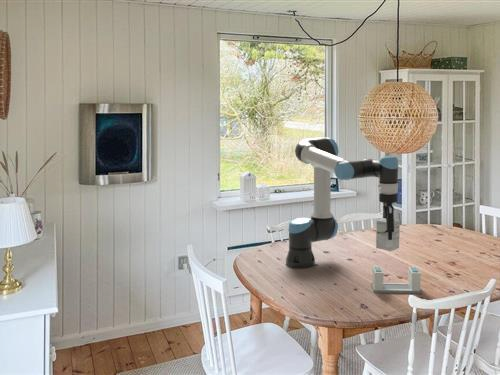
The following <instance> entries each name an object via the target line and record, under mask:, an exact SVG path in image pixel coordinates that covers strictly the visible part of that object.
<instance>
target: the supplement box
mask: <svg viewBox="0 0 500 375" xmlns="http://www.w3.org/2000/svg"><path fill="white" fill-rule="evenodd" d="M400 225H401V220H400V219H396V218H394V232H393V247H386V232H385V230H387V223H386V218H383V217H382V218H380V219H378V220H376V231H375V232H376V236H375V238H376V239H375V240H376V241H375V243H376V244H375V248H376V249H378V250H384V251H386V252H387V251H388V252H393V251H395V250H397V249H400V232H401V231H400V227H401V226H400Z"/></svg>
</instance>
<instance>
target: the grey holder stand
mask: <svg viewBox="0 0 500 375" xmlns="http://www.w3.org/2000/svg"><path fill="white" fill-rule="evenodd" d="M407 268H408V270H407V271H408V272H407V282H384V271H383V269H382V267H381V266H373V265H372V282H371V283H370V286H371V289H372V293H373V294H410V293H412V294H411V295H416V294H417V295H419V294H420V295H422V293H423V292H422V290H421V281H422V280H421V276H422V275H421V271H420V270H419V269H418V267H417V266H408V267H407Z"/></svg>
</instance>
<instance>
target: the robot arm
mask: <svg viewBox="0 0 500 375" xmlns="http://www.w3.org/2000/svg"><path fill="white" fill-rule="evenodd" d="M294 149H295V150H294V151H295V152H294V154H295V157H296V158H297V159H298V161H300V162H302V163H304V164H306V165H309V164H310V165H311V166H312V167H313V212H312V214H311V215H310V217H298V218H295V219H292V220H290V222H288V251H287V255H286V259H285V264H286V266H288V265H289V266H288V267H290V266H292V267H291V268H294V267H296V269H306V267H307V268H311V267H314V266H315V265H316V259H315V255H314V252H313V249H312V248H313V246H312V245H313V244H312V243H316V242H321V241H329V240H331V239H334V237H336V235H337V234H338V231H339V223H338V221H337V219H336V217H334V214H333V213H332V212H331V193H332V192H331V191H332V190H331V174H332V173H333V174H334V175H335V176H336V178H337V179H338V180H341V181H349V180H356V179H362V178H378V179H379V184H377V187H378V188H379V195H378V201H379V202H380V203H382V211H383V212H382V219H383V218H386V223H387V230H385V232H386V247H393V232H394V219H395V218H394V214H395V213H394V210H395V208H394V206H393V204H394V203H398V196H399V194H398V192H399V159H398V156H393V155H383V156H380V157H379V159H373V158H365V159H362V160H354V161H353V160H352V161H351V160H347V159H345V158H342V157H340V156H339V146H338V144H337V142H336V140H335V139H334V138H332V137H326V136H324V137H313V138H312V137H311V138H304V139H302V140H300V141H299V142H298V143H297V144H296V146H295V148H294Z"/></svg>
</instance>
